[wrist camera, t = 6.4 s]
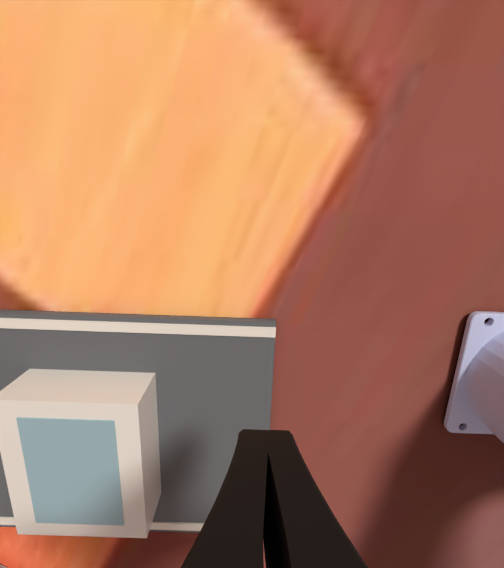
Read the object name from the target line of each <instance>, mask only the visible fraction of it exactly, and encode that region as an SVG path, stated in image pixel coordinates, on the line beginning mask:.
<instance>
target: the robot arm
mask: <svg viewBox="0 0 504 568" xmlns="http://www.w3.org/2000/svg"><path fill="white" fill-rule="evenodd" d="M487 318H489V320H488V322H487V323H485V324H484V321H485V320H486V319H487ZM460 424H462V425H461V426H459V425H460ZM444 427H445V428H446V429H447V430H448V431H449V432H451V433H471V434H494V435H495V436H496V437H497V438H499V439H500V440H501V441H502V442H503V443H504V312H483V311H477V312H473V313H471V314H470V315H469V316H468V319H467V323H466V327H465V331H464V336H463V340H462V345H461V349H460V353H459V358H458V362H457V367H456V371H455V375H454V380H453V384H452V389H451V393H450V397H449V402H448V406H447V411H446V415H445V419H444ZM263 540H264V551H265V561H266V568H368V567H367V565H366V564H365V562H364V561H363V559H362V558H361V556H360V555H359V553H358V552H357V551H356V549H355V547H354V546H353V544H352V543H351V541H350V540H349V538H348V537H347V535H346V534H345V532H344V530H343V529H342V527H341V526H340V524H339V522H338V521H337V519H336V518H335V516H334V514H333V513H332V511H331V509H330V508H329V506H328V504H327V502H326V501H325V499H324V497H323V495H322V494H321V492H320V490H319V488H318V487H317V485H316V483H315V481H314V479H313V478H312V476H311V474H310V472H309V470H308V468H307V466H306V464H305V462H304V460H303V458H302V456H301V454H300V452H299V449H298V447H297V445H296V443H295V440H294V438H293V435H292V434H291V433H290V432H289V431H284V430H253V429H243V430H242V431H240V432H239V435H238V441H237V445H236V448H235V452H234V455H233V458H232V461H231V463H230V466H229V469H228V472H227V474H226V477H225V479H224V481H223V484H222V486H221V488H220V491H219V493H218V496H217V498H216V500H215V502H214V504H213V507H212V509H211V511H210V513H209V515H208V517H207V519H206V521H205V523H204V525H203V527H202V529H201V531H200V533H199V535H198V537H197V539H196V541H195V543H194V545H193V546H192V548H191V550H190V552H189V554H188V556H187V557H186V559H185V561H184V563H183V565H182V566H181V568H264V567H263Z"/></svg>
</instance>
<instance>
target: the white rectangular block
mask: <svg viewBox="0 0 504 568" xmlns="http://www.w3.org/2000/svg"><path fill="white" fill-rule="evenodd" d="M0 453H1V458H2V462H3V467H4V472H5V477H6V481H7V486H8V491H9V496H10V500H11V505H12V510H13V515H14V520H15V524H16V529H17V534H25V535H57V536H89V537H121V538H147V537H148V533H149V530H150V527H151V524H152V521H153V517H154V514H155V511H156V508H157V505H158V501H159V498H160V495H161V474H160V454H159V434H158V414H157V394H156V375H155V373H144V372H114V371H84V370H55V369H29V370H27V371H26V372H25V373H23V374H22V375H21V376H19V377H18V378H17V379H15V380H14V381H13V382H12V383H10V384H9V385H8V386H6V387H5V388H4V389H2V390H1V391H0Z"/></svg>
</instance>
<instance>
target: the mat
mask: <svg viewBox="0 0 504 568" xmlns="http://www.w3.org/2000/svg"><path fill="white" fill-rule="evenodd" d="M275 335H276V319H257V318H228V317H199V316H170V315H142V314H113V313H84V312H55V311H26V310H0V391H1V390H2V389H4V388H5V387H6V386H8V385H9V384H10V383H12V382H13V381H14V380H15V379H17V378H18V377H19V376H21V375H22V374H23V373H25V372H26V371H27V370H29V369H55V370H84V371H114V372H144V373H155V375H156V394H157V414H158V434H159V454H160V474H161V495H160V498H159V501H158V505H157V508H156V511H155V514H154V517H153V521H152V524H151V527H150V530H149V531H158V532H190V533H200V531H201V529H202V527H203V525H204V523H205V521H206V519H207V517H208V515H209V513H210V511H211V509H212V507H213V504H214V502H215V500H216V498H217V496H218V493H219V491H220V488H221V486H222V484H223V481H224V479H225V477H226V474H227V472H228V469H229V466H230V463H231V461H232V458H233V455H234V452H235V448H236V445H237V441H238V435H239V432H240V431H242V430H243V429H253V430H270V417H271V400H272V383H273V366H274V349H275ZM0 527H16V524H15V520H14V515H13V510H12V505H11V500H10V496H9V491H8V486H7V481H6V477H5V472H4V467H3V462H2V458H1V453H0Z"/></svg>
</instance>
